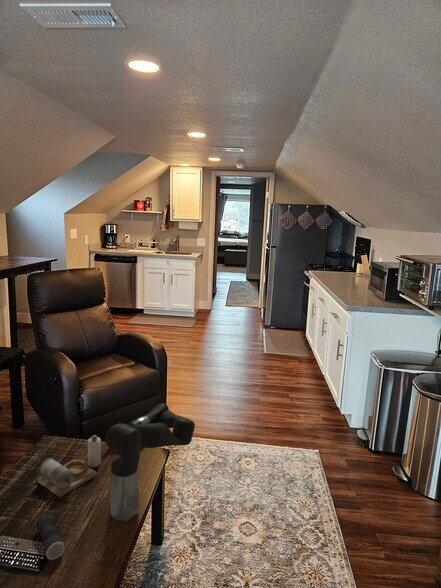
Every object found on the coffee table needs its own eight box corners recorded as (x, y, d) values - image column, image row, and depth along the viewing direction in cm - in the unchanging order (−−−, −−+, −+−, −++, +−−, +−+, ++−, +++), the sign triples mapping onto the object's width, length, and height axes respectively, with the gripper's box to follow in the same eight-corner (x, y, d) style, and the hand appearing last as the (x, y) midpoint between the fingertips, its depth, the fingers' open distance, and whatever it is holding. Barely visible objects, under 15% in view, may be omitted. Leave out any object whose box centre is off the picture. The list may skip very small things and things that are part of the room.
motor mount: (98, 476, 167) (98, 457, 165) (61, 498, 153) (61, 478, 151) (74, 462, 175) (74, 444, 173) (38, 482, 161) (37, 463, 159)
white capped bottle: (103, 463, 175) (103, 435, 173) (93, 468, 171) (93, 441, 169) (95, 458, 178) (95, 431, 176) (85, 464, 174) (85, 436, 172)
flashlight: (35, 530, 137) (34, 516, 136) (52, 524, 141) (51, 510, 140) (46, 562, 125) (46, 547, 124) (64, 555, 128) (64, 540, 127)
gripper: (149, 439, 192) (123, 454, 179) (128, 428, 200) (101, 442, 187) (150, 424, 191) (123, 438, 177) (128, 414, 198) (101, 427, 185)
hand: (112, 440), depth 182 cm, fingers open, 8 cm apart
